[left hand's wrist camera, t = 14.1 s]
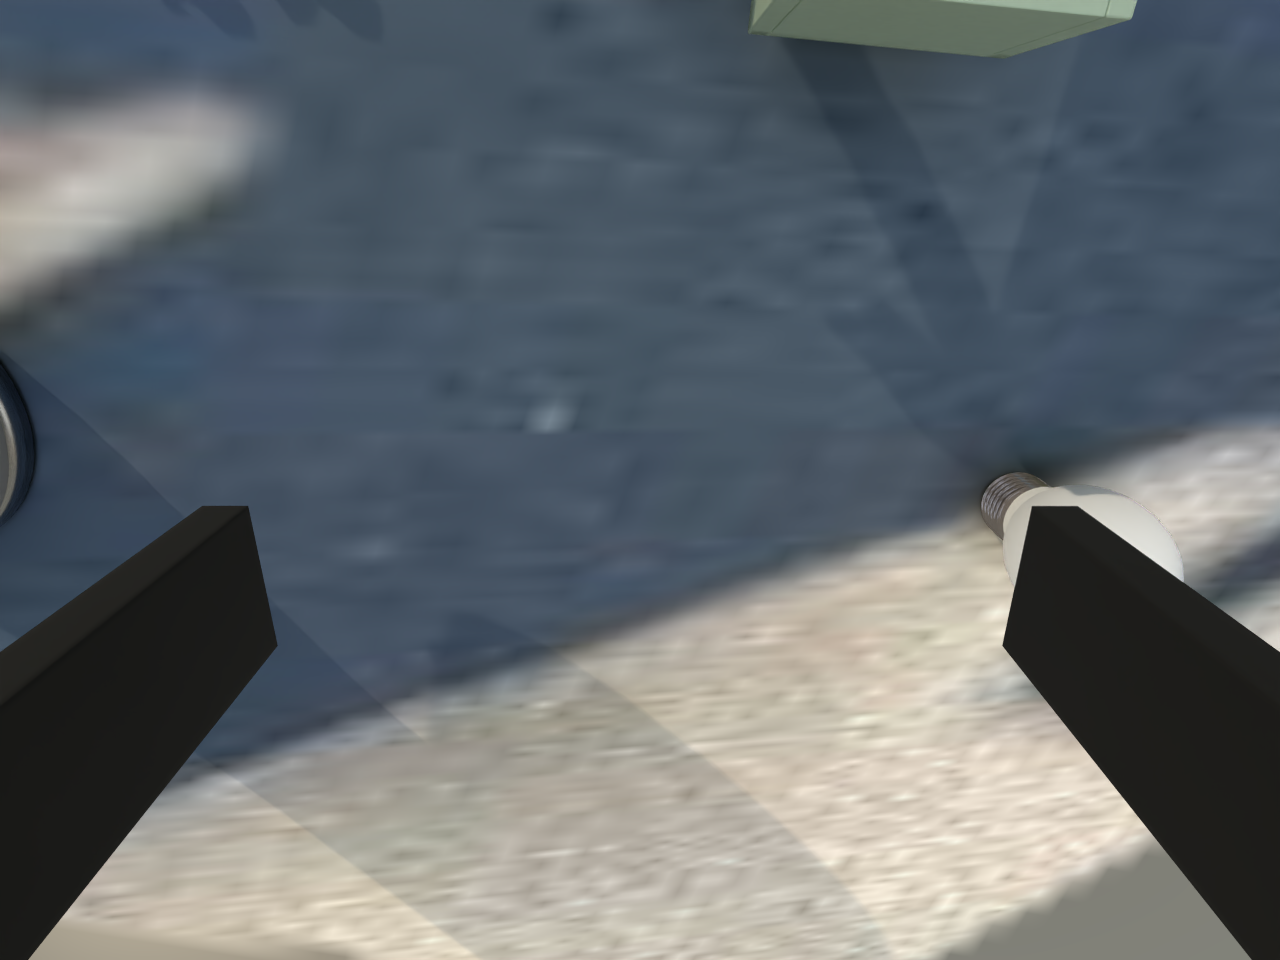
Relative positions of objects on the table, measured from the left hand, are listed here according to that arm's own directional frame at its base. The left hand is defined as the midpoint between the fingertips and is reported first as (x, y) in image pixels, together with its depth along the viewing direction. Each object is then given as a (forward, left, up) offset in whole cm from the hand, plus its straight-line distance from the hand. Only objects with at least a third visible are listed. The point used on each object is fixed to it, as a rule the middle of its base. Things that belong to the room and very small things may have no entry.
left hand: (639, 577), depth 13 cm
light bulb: (+21, -10, -27) cm, 35 cm away
